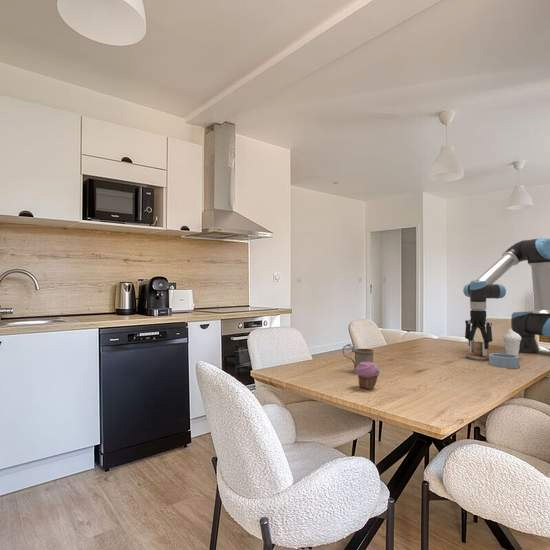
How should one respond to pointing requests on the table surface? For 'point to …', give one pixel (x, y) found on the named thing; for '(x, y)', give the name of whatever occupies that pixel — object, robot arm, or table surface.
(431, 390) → the table surface
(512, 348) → the soft serve ice cream cone
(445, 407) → the table surface
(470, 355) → the lid
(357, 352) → the mug
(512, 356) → the bowl
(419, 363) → the table surface
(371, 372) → the cupcake
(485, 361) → the mat
